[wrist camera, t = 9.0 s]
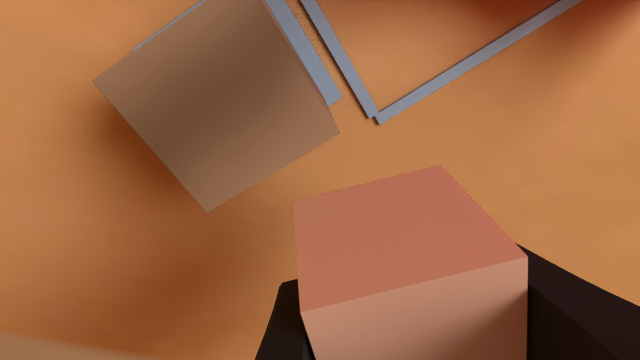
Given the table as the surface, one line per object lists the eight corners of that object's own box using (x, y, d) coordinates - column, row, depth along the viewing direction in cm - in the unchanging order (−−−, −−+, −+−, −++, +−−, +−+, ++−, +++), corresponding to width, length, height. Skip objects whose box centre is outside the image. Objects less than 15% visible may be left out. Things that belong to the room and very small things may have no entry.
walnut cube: (322, 95, 17) (339, 133, 12) (225, 156, 17) (207, 213, 13) (253, -20, 15) (243, -25, 10) (146, 55, 15) (91, 81, 11)
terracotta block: (451, 281, 12) (525, 403, 8) (324, 312, 12) (345, 447, 9) (440, 164, 10) (527, 256, 7) (292, 201, 10) (300, 312, 7)
